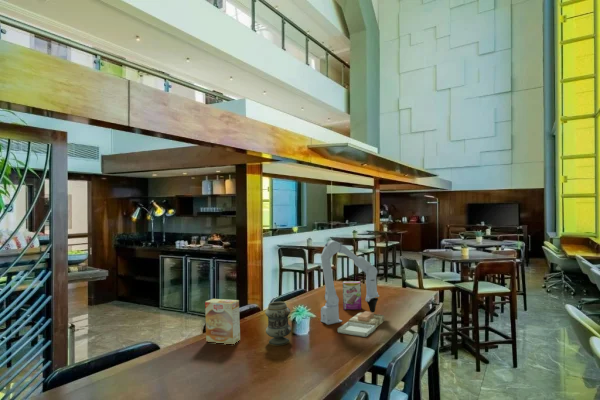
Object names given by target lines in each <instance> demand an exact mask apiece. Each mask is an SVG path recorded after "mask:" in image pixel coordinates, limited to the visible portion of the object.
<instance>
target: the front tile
mask: <svg viewBox="0 0 600 400" xmlns="http://www.w3.org/2000/svg"><path fill="white" fill-rule="evenodd" d="M369 319H370V315H367V314H360V315H359V316H358V320H361V321H368V320H369Z"/></svg>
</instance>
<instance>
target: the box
mask: <svg viewBox="0 0 600 400" xmlns="http://www.w3.org/2000/svg"><path fill="white" fill-rule="evenodd" d="M375 330H376V328H375V325H370V324H362V323H355V322H349V321H347V322H345V323H344V324H342V325H340V326H339V327H337V333H338V334H344V335H351V336H355V337H364V338H367V337H368V336H369V335H371V334H372V333H373V332H374V331H375Z"/></svg>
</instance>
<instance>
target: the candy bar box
mask: <svg viewBox="0 0 600 400" xmlns="http://www.w3.org/2000/svg"><path fill="white" fill-rule="evenodd" d="M342 306H343V307H342V309H343V310H344V311H346V310H347V311H348V310H352V311H353V310H354V311H355V310H357V311H359V310H360V311H361V310H362V283H361V281H360V280H359V281H355V280H354V281H351V280H349V281H348V280H347V281H345V280H344V281H342Z"/></svg>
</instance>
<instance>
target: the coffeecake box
mask: <svg viewBox="0 0 600 400" xmlns="http://www.w3.org/2000/svg"><path fill="white" fill-rule="evenodd" d="M204 306H205V307H204V308H205V310H204V311H205V338H206V339H205V341H208V342H216V343H224V344H223V345H226V344H234V345H235V343H236V342H237V343H239V342H240V341H241V327H240V325H241V324H240V323H241V322H240V321H241V320H240V300H239V299H223V298H211V299H209V300H205V302H204ZM239 340H240V341H239ZM238 341H239V342H238ZM216 343H215V344H216ZM237 343H236V344H237Z"/></svg>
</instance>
